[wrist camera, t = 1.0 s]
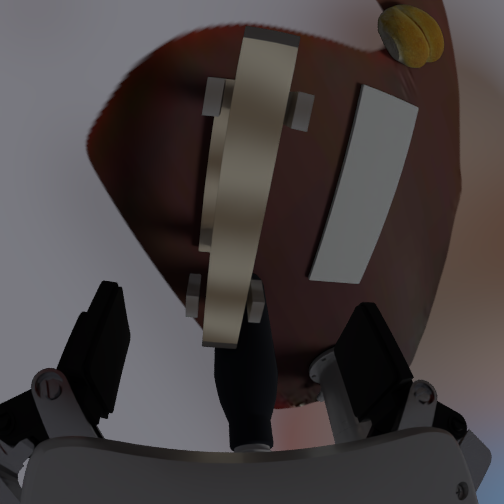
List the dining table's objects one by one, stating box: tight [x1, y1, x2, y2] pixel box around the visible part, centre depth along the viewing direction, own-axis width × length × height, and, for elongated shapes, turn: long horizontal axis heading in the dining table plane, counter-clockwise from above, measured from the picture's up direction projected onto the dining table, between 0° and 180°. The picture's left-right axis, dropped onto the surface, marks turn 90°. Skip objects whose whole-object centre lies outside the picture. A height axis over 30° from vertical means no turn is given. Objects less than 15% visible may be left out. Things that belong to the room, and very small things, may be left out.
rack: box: [186, 77, 314, 323], centre depth 24 cm, size 20×6×13 cm, turn 170°
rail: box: [202, 26, 300, 349], centre depth 20 cm, size 26×3×3 cm, turn 170°
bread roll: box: [378, 5, 444, 68], centre depth 20 cm, size 8×9×4 cm
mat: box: [308, 85, 418, 284], centre depth 32 cm, size 26×8×1 cm, turn 170°
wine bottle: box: [214, 273, 278, 453], centre depth 26 cm, size 6×6×30 cm
